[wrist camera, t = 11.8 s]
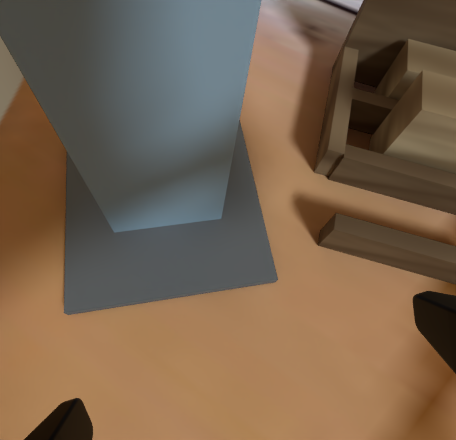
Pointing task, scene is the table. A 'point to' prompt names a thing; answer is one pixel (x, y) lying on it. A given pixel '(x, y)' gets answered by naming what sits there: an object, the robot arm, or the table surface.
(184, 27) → the pale blue wedge-ended prism
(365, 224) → the rack
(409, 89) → the offcut tall
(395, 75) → the offcut short
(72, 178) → the mat
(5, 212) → the table surface
